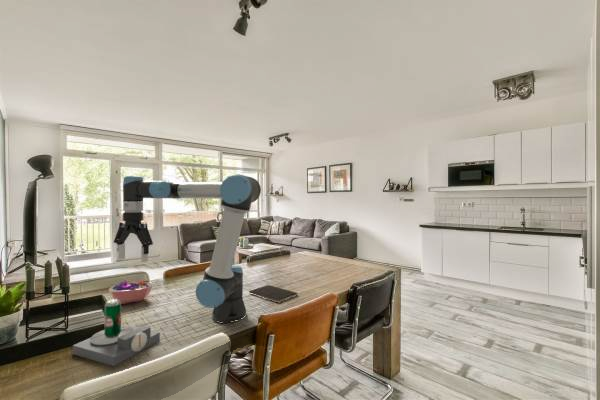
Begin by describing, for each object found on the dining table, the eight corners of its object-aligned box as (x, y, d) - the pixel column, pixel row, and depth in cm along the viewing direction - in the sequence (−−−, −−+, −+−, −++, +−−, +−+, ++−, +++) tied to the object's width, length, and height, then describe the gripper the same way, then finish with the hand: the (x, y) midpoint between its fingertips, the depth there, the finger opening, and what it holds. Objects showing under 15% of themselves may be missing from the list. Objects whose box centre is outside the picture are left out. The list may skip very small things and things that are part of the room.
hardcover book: (278, 304, 145) (278, 300, 145) (248, 295, 160) (248, 291, 160) (297, 296, 158) (297, 292, 158) (268, 288, 172) (268, 284, 172)
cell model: (145, 307, 140) (145, 284, 140) (101, 309, 136) (101, 286, 136) (157, 295, 156) (157, 275, 156) (117, 297, 153) (117, 276, 153)
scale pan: (141, 332, 107) (141, 329, 107) (107, 349, 95) (107, 346, 95) (116, 326, 111) (116, 324, 111) (81, 342, 99) (81, 339, 99)
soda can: (101, 336, 102) (101, 302, 102) (114, 329, 106) (114, 298, 106) (110, 338, 100) (110, 304, 100) (124, 332, 104) (124, 299, 104)
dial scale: (160, 340, 107) (161, 322, 107) (115, 366, 90) (115, 345, 90) (121, 331, 114) (121, 315, 114) (72, 354, 97) (72, 334, 97)
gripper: (104, 211, 124) (104, 259, 124) (147, 212, 115) (146, 264, 115) (120, 210, 131) (120, 256, 131) (162, 211, 122) (161, 261, 122)
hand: (132, 260), depth 123 cm, fingers open, 13 cm apart
